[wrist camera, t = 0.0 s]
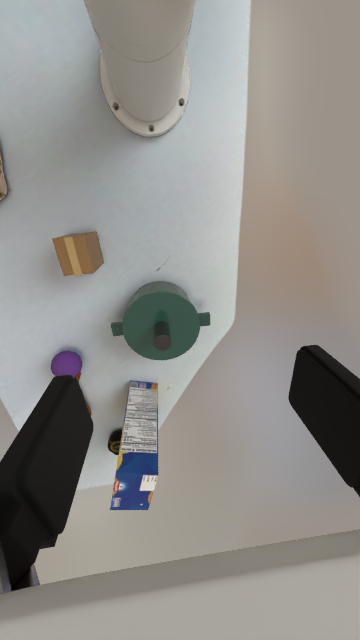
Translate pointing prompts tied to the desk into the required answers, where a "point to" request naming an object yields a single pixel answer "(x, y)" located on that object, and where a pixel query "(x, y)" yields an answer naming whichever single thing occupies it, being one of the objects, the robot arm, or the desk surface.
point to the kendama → (67, 365)
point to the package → (78, 253)
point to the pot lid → (161, 325)
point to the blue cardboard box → (137, 449)
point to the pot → (159, 286)
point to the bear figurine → (2, 181)
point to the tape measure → (115, 442)
